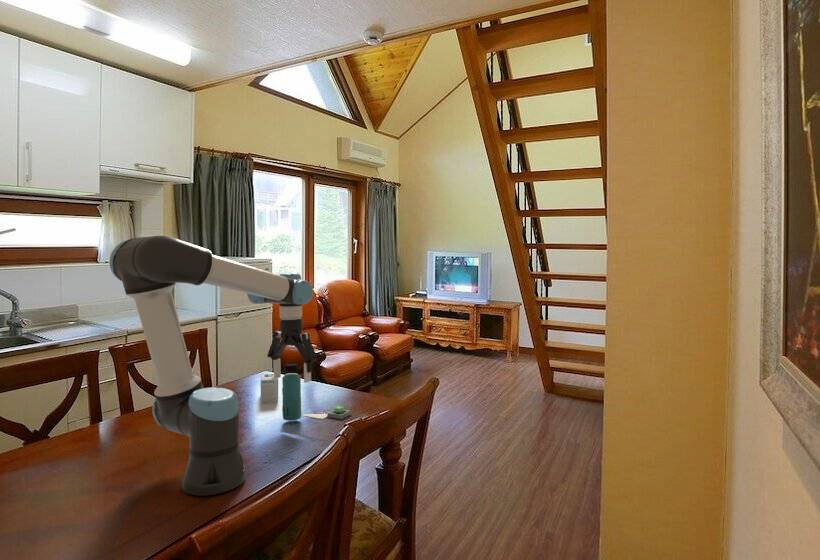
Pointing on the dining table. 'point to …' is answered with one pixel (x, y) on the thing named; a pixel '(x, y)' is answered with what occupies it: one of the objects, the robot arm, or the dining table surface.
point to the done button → (339, 409)
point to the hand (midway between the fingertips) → (292, 379)
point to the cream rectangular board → (316, 416)
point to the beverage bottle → (291, 394)
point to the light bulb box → (269, 388)
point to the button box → (339, 416)
